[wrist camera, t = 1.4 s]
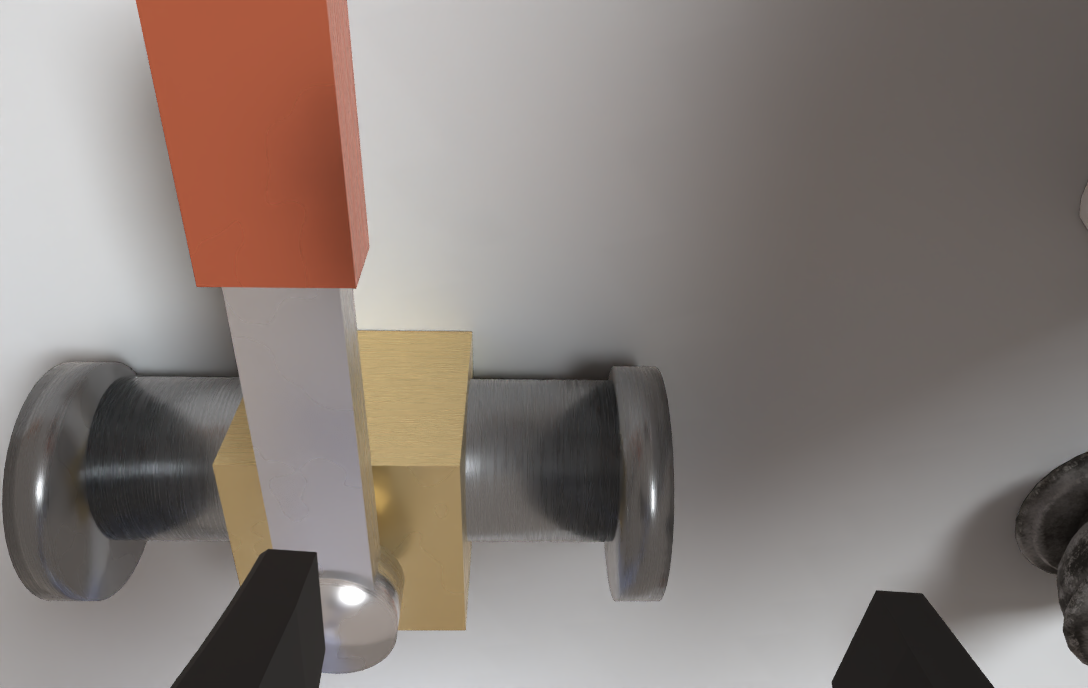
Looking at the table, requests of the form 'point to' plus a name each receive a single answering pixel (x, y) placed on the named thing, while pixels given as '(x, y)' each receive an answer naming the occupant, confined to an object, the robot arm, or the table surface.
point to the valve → (397, 466)
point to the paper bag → (1084, 207)
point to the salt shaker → (1061, 543)
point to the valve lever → (285, 273)
